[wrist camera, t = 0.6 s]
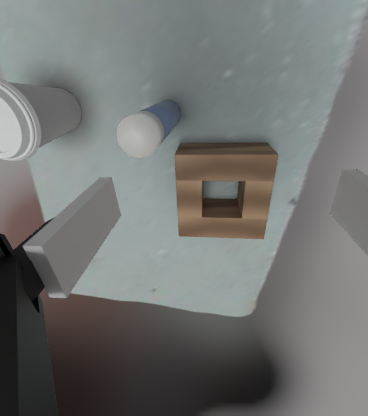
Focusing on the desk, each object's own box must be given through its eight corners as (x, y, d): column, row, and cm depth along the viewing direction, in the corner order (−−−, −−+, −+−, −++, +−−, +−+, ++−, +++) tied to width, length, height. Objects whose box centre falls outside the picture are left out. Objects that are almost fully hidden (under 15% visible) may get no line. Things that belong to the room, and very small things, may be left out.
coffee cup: (27, 77, 36) (-76, 74, 23) (83, 77, 35) (10, 74, 22) (44, 138, 41) (-33, 164, 28) (95, 139, 40) (40, 166, 27)
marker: (155, 100, 36) (113, 115, 20) (180, 100, 36) (156, 114, 20) (157, 127, 38) (120, 158, 22) (181, 126, 38) (160, 158, 22)
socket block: (180, 143, 39) (174, 154, 33) (267, 142, 37) (278, 154, 31) (183, 215, 46) (178, 236, 40) (256, 217, 44) (263, 239, 38)
